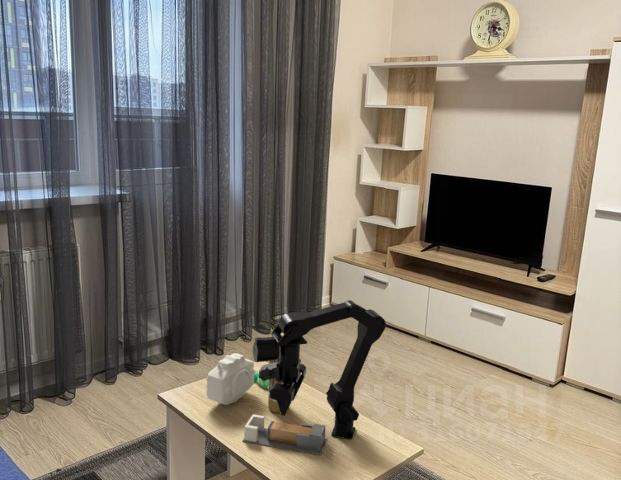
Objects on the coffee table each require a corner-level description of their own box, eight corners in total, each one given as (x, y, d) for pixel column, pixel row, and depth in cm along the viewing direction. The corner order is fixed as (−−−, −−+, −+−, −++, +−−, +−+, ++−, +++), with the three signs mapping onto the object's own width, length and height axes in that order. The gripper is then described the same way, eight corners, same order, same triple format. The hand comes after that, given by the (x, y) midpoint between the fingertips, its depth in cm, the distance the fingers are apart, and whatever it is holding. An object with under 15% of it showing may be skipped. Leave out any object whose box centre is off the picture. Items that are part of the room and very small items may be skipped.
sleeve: (301, 436, 175) (302, 421, 174) (324, 440, 174) (325, 425, 173) (296, 448, 169) (297, 432, 168) (320, 452, 168) (321, 436, 167)
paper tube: (286, 414, 188) (288, 341, 182) (265, 411, 189) (267, 339, 183) (291, 404, 194) (293, 333, 188) (271, 401, 195) (273, 331, 190)
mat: (251, 426, 180) (251, 425, 180) (326, 439, 175) (326, 438, 175) (242, 441, 172) (242, 440, 172) (320, 455, 167) (320, 454, 167)
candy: (280, 388, 204) (275, 380, 201) (273, 395, 202) (268, 388, 200) (259, 375, 212) (254, 368, 210) (252, 382, 211) (247, 375, 208)
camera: (201, 406, 190) (201, 361, 186) (236, 385, 205) (237, 343, 202) (227, 417, 185) (228, 370, 181) (261, 394, 200) (262, 351, 196)
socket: (252, 427, 179) (252, 414, 178) (264, 429, 178) (264, 416, 177) (244, 439, 172) (244, 426, 171) (256, 442, 171) (256, 428, 170)
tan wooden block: (271, 432, 176) (271, 420, 175) (320, 441, 173) (320, 429, 172) (267, 439, 172) (267, 427, 171) (317, 448, 169) (317, 436, 168)
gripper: (272, 342, 178) (270, 389, 181) (252, 367, 160) (250, 419, 164) (307, 346, 175) (305, 394, 179) (291, 373, 158) (289, 426, 161)
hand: (287, 407), depth 171 cm, fingers open, 9 cm apart
